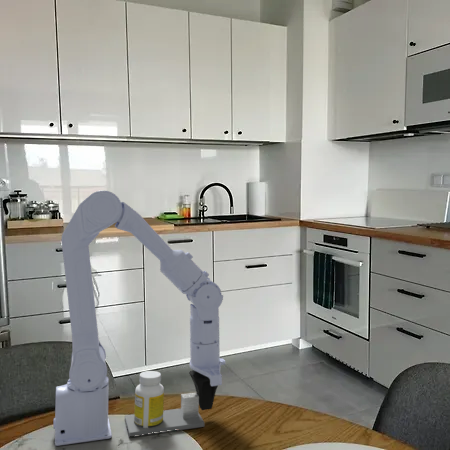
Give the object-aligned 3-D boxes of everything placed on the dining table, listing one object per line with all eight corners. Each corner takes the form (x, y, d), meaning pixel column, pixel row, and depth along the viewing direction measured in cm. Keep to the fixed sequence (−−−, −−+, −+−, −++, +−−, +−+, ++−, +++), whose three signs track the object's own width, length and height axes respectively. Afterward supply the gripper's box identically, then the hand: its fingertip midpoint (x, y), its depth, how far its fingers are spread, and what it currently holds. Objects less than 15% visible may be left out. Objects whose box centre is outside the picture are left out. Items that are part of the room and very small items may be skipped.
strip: (129, 437, 81) (129, 410, 80) (124, 419, 87) (125, 395, 87) (204, 426, 85) (204, 401, 85) (194, 410, 92) (195, 387, 92)
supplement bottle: (165, 420, 88) (167, 370, 87) (158, 433, 82) (161, 380, 82) (138, 417, 88) (140, 368, 88) (130, 431, 83) (132, 378, 82)
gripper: (237, 348, 83) (237, 421, 83) (213, 328, 96) (214, 390, 97) (199, 353, 80) (201, 427, 81) (180, 331, 94) (182, 395, 95)
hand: (205, 408), depth 89 cm, fingers closed, pressing on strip
